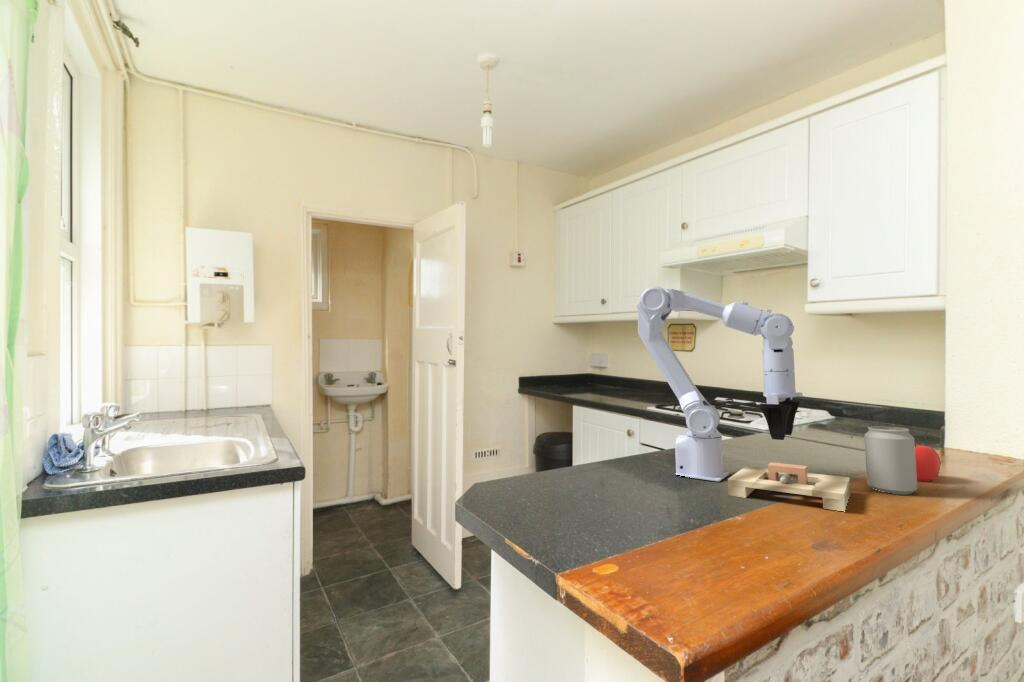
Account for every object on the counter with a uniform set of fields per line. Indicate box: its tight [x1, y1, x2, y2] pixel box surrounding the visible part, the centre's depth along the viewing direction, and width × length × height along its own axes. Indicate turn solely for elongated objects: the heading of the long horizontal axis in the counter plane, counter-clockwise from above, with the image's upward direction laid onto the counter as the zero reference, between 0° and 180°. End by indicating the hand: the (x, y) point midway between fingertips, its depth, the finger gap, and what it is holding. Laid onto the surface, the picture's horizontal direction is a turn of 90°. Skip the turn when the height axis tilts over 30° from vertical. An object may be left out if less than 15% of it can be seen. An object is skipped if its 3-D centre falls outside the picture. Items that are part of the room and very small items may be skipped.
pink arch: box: [767, 461, 809, 485], centre depth 88 cm, size 6×3×5 cm, turn 52°
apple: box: [914, 439, 942, 482], centre depth 98 cm, size 8×8×8 cm
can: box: [863, 425, 918, 496], centre depth 90 cm, size 8×8×12 cm
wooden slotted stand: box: [727, 465, 852, 513], centre depth 88 cm, size 18×14×4 cm
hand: (781, 437), depth 97 cm, fingers open, 7 cm apart
